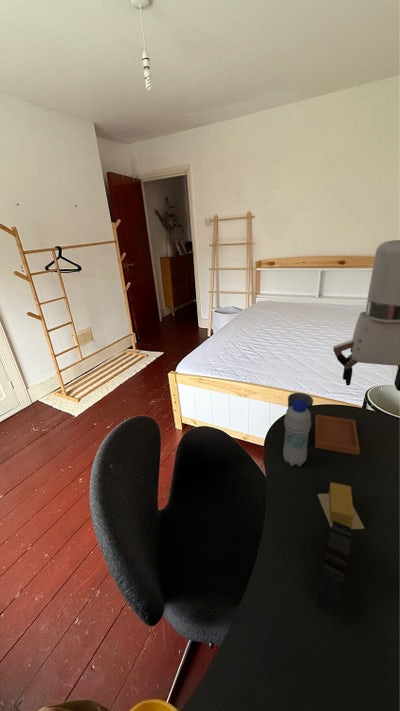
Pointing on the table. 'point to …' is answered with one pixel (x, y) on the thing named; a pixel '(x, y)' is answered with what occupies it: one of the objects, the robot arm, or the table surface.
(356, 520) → the cloth
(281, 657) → the table surface
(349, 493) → the yellow block
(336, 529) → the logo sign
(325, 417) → the brown wooden tray
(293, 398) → the cup
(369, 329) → the robot arm
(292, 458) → the bottle
